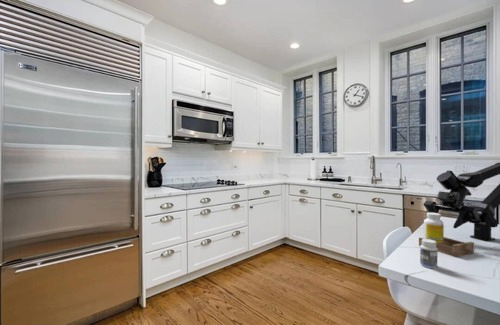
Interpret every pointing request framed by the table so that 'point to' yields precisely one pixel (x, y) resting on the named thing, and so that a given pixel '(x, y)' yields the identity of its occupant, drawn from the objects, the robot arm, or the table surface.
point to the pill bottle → (428, 253)
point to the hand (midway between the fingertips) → (441, 225)
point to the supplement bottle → (434, 228)
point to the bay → (453, 247)
